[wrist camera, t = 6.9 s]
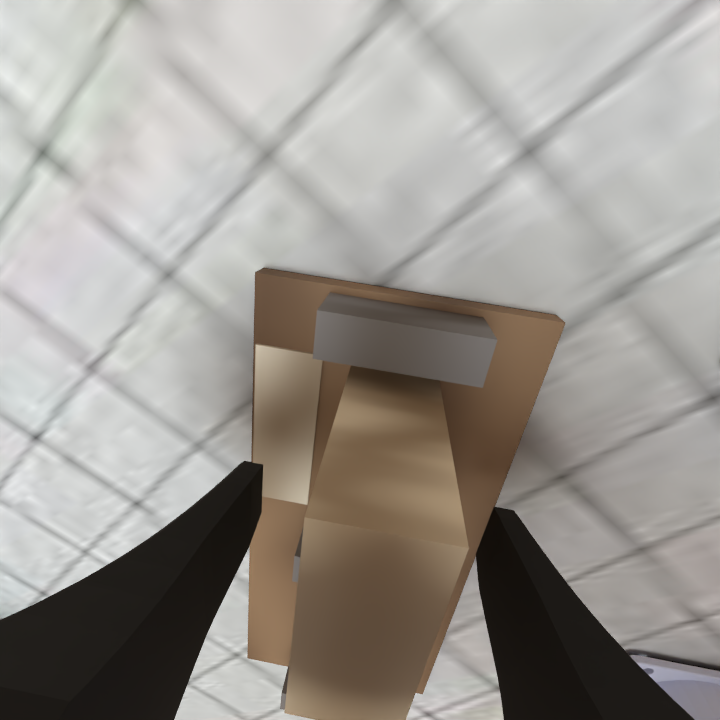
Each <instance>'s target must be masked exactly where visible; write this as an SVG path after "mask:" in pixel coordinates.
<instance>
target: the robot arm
mask: <svg viewBox="0 0 720 720" xmlns="http://www.w3.org/2000/svg"><path fill="white" fill-rule="evenodd" d="M262 487H263V464H258V463H253V462H247V461H244V462H242V463H241V464H240V465H238V466H237V467H236V468H235V469H234V470H233V471H232V472H231V473H230V474H229V475H228V476H226V477H225V478H224V479H223V480H222V481H221V482H220V483H219V484H217V485H216V486H215V487H214V488H213V489H212V490H211V491H209V492H208V493H207V494H206V495H205V496H203V497H202V498H201V499H200V500H199V501H197V502H196V503H195V504H194V505H193V506H191V507H190V508H189V509H188V510H186V511H185V512H184V513H183V514H181V515H180V516H179V517H177V518H176V519H175V520H173V521H172V522H171V523H169V524H168V525H167V526H165V527H164V528H163V529H161V530H160V531H159V532H157V533H156V534H154V535H153V536H152V537H150V538H149V539H147V540H146V541H144V542H143V543H141V544H140V545H138V546H137V547H135V548H134V549H132V550H131V551H129V552H128V553H126V554H124V555H123V556H121V557H120V558H118V559H116V560H115V561H113V562H111V563H110V564H108V565H106V566H105V567H103V568H101V569H100V570H98V571H96V572H95V573H93V574H91V575H89V576H88V577H86V578H84V579H82V580H80V581H79V582H77V583H75V584H73V585H71V586H69V587H67V588H65V589H63V590H61V591H59V592H57V593H56V594H54V595H52V596H50V597H48V598H46V599H44V600H42V601H40V602H38V603H36V604H34V605H32V606H30V607H28V608H26V609H23V610H21V611H19V612H17V613H15V614H13V615H10V616H8V617H6V618H4V619H1V620H0V720H174V718H175V716H176V713H177V710H178V708H179V705H180V702H181V700H182V697H183V694H184V692H185V689H186V686H187V684H188V681H189V679H190V676H191V673H192V671H193V668H194V666H195V663H196V660H197V658H198V655H199V653H200V650H201V648H202V645H203V643H204V640H205V638H206V635H207V633H208V631H209V628H210V626H211V624H212V622H213V619H214V617H215V615H216V613H217V611H218V609H219V607H220V605H221V603H222V601H223V599H224V597H225V595H226V593H227V591H228V589H229V587H230V585H231V583H232V581H233V579H234V577H235V574H236V572H237V570H238V568H239V566H240V564H241V562H242V560H243V558H244V556H245V554H246V552H247V550H248V548H249V546H250V543H251V541H252V538H253V535H254V532H255V530H256V527H257V524H258V521H259V518H260V516H261V513H262ZM476 560H477V572H478V582H479V590H480V595H481V600H482V605H483V610H484V615H485V619H486V624H487V629H488V633H489V638H490V643H491V647H492V652H493V657H494V662H495V666H496V671H497V676H498V681H499V687H500V693H501V700H502V708H503V716H504V720H720V671H716V670H711V669H705V668H700V667H695V666H690V665H685V664H680V663H675V662H670V661H665V660H660V659H655V658H650V657H645V656H639V655H629V654H628V653H627V652H626V651H625V650H624V649H623V648H622V647H621V646H620V645H619V644H618V643H617V641H616V640H615V639H614V638H613V637H612V636H611V635H610V634H609V633H608V632H607V631H606V629H605V628H604V627H603V626H602V625H601V624H600V623H599V621H598V620H597V619H596V618H595V617H594V616H593V614H592V613H591V612H590V611H589V610H588V608H587V607H586V606H585V605H584V604H583V602H582V601H581V600H580V599H579V598H578V596H577V595H576V594H575V593H574V591H573V590H572V589H571V588H570V586H569V585H568V584H567V583H566V581H565V580H564V579H563V577H562V576H561V575H560V573H559V572H558V571H557V569H556V568H555V567H554V565H553V564H552V563H551V561H550V560H549V559H548V557H547V556H546V555H545V553H544V552H543V551H542V549H541V548H540V546H539V545H538V544H537V542H536V541H535V539H534V538H533V537H532V535H531V534H530V532H529V531H528V530H527V528H526V527H525V525H524V524H523V523H522V521H521V520H520V518H519V517H518V516H517V514H516V513H515V511H514V510H508V509H503V508H497V507H493V510H492V513H491V515H490V518H489V520H488V523H487V526H486V528H485V531H484V533H483V536H482V539H481V541H480V544H479V546H478V549H477V552H476Z"/></svg>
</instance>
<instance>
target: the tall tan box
mask: <svg viewBox="0 0 720 720" xmlns="http://www.w3.org/2000/svg"><path fill="white" fill-rule="evenodd" d="M468 549H469V546H468V540H467V535H466V529H465V523H464V518H463V512H462V506H461V501H460V495H459V489H458V484H457V478H456V472H455V467H454V461H453V456H452V450H451V444H450V439H449V433H448V427H447V422H446V416H445V410H444V405H443V399H442V393H441V388H440V382H439V380H434V379H428V378H422V377H416V376H410V375H405V374H399V373H393V372H387V371H381V370H375V369H369V368H364V367H358V366H352V365H351V367H350V370H349V374H348V377H347V380H346V383H345V387H344V390H343V393H342V397H341V400H340V403H339V406H338V410H337V413H336V416H335V419H334V423H333V426H332V429H331V432H330V436H329V439H328V442H327V445H326V449H325V452H324V455H323V458H322V462H321V465H320V468H319V472H318V475H317V478H316V481H315V485H314V488H313V491H312V494H311V498H310V501H309V504H308V507H307V511H306V514H305V517H304V527H303V537H302V546H301V556H300V566H299V576H298V586H297V595H296V605H295V615H294V625H293V634H292V644H291V654H290V664H289V674H288V683H287V693H286V703H285V713H287V714H291V715H296V716H301V717H306V718H310V719H315V720H406V717H407V714H408V712H409V709H410V706H411V704H412V701H413V698H414V695H415V693H416V690H417V687H418V685H419V682H420V679H421V677H422V674H423V671H424V668H425V666H426V663H427V660H428V658H429V655H430V652H431V650H432V647H433V644H434V641H435V639H436V636H437V633H438V631H439V628H440V625H441V622H442V620H443V617H444V614H445V612H446V609H447V606H448V604H449V601H450V598H451V595H452V593H453V590H454V587H455V585H456V582H457V579H458V577H459V574H460V571H461V568H462V566H463V563H464V560H465V558H466V555H467V552H468Z"/></svg>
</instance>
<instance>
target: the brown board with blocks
mask: <svg viewBox="0 0 720 720" xmlns="http://www.w3.org/2000/svg"><path fill="white" fill-rule="evenodd" d="M564 326H565V322H564V321H563V320H561V319H560V318H559V317H558V316H557V315H552V314H546V313H540V312H533V311H527V310H521V309H515V308H509V307H503V306H496V305H490V304H484V303H478V302H472V301H465V300H459V299H453V298H447V297H441V296H435V295H428V294H422V293H416V292H410V291H404V290H397V289H391V288H385V287H379V286H373V285H367V284H360V283H354V282H348V281H342V280H336V279H329V278H323V277H317V276H311V275H305V274H299V273H292V272H286V271H280V270H274V269H268V268H262V269H261V270H259V271H257V272H255V309H254V360H253V410H252V461H251V462H253V463H258V464H263V487H262V513H261V516H260V518H259V521H258V524H257V527H256V530H255V532H254V535H253V538H252V541H251V543H250V562H249V612H248V658H249V659H254V660H259V661H264V662H269V663H274V664H278V665H283V666H288V670H287V674H286V678H285V682H284V686H283V690H282V696H281V707H280V709H285V703H286V693H287V683H288V674H289V664H290V654H291V644H292V634H293V625H294V615H295V605H296V595H297V586H298V576H299V566H300V556H301V546H302V537H303V527H304V517H305V514H306V511H307V507H308V504H309V501H310V498H311V494H312V491H313V488H314V485H315V481H316V478H317V475H318V472H319V468H320V465H321V462H322V458H323V455H324V452H325V449H326V445H327V442H328V439H329V436H330V432H331V429H332V426H333V423H334V419H335V416H336V413H337V410H338V406H339V403H340V400H341V397H342V393H343V390H344V387H345V383H346V380H347V377H348V374H349V370H350V367H351V365H352V366H358V367H364V368H369V369H375V370H381V371H387V372H393V373H399V374H405V375H410V376H416V377H422V378H428V379H434V380H439V382H440V388H441V393H442V399H443V405H444V410H445V416H446V422H447V427H448V433H449V439H450V444H451V450H452V456H453V461H454V467H455V472H456V478H457V484H458V489H459V495H460V501H461V506H462V512H463V518H464V523H465V529H466V535H467V540H468V546H469V549H468V552H467V555H466V558H465V560H464V563H463V566H462V568H461V571H460V574H459V577H458V579H457V582H456V585H455V587H454V590H453V593H452V595H451V598H450V601H449V604H448V606H447V609H446V612H445V614H444V617H443V620H442V622H441V625H440V628H439V631H438V633H437V636H436V639H435V641H434V644H433V647H432V650H431V652H430V655H429V658H428V660H427V663H426V666H425V668H424V671H423V674H422V677H421V679H420V682H419V685H418V687H417V690H416V693H419V694H423V692H424V689H425V686H426V684H427V681H428V679H429V676H430V673H431V671H432V668H433V666H434V663H435V660H436V658H437V655H438V653H439V650H440V647H441V645H442V642H443V640H444V637H445V634H446V632H447V629H448V627H449V624H450V621H451V619H452V616H453V614H454V611H455V608H456V606H457V603H458V601H459V598H460V596H461V593H462V590H463V588H464V585H465V583H466V580H467V577H468V575H469V572H470V570H471V567H472V564H473V562H474V559H475V557H476V552H477V549H478V546H479V544H480V541H481V539H482V536H483V533H484V531H485V528H486V526H487V523H488V520H489V518H490V515H491V513H492V510H493V507H495V505H496V502H497V499H498V497H499V494H500V492H501V489H502V486H503V484H504V481H505V479H506V476H507V474H508V471H509V468H510V466H511V463H512V461H513V458H514V455H515V453H516V450H517V448H518V445H519V442H520V440H521V437H522V435H523V432H524V429H525V427H526V424H527V422H528V419H529V416H530V414H531V411H532V409H533V406H534V403H535V401H536V398H537V396H538V393H539V390H540V388H541V385H542V383H543V380H544V377H545V375H546V372H547V370H548V367H549V364H550V362H551V359H552V357H553V354H554V352H555V349H556V346H557V344H558V341H559V339H560V336H561V333H562V331H563V328H564Z"/></svg>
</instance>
